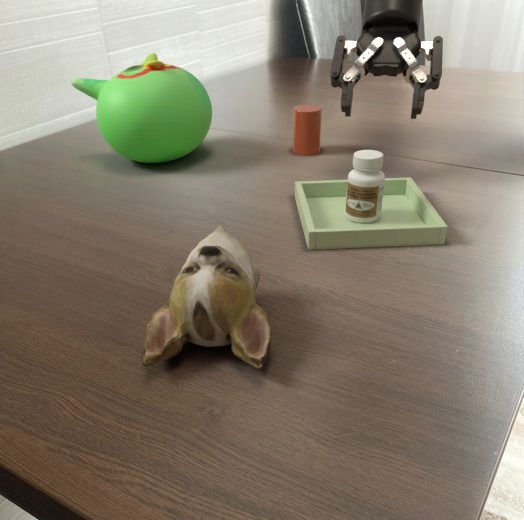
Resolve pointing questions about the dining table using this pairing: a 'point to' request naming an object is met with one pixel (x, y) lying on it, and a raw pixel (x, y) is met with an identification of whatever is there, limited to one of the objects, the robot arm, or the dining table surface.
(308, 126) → the terracotta cylinder
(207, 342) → the ceramic sculpture
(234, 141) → the dining table surface
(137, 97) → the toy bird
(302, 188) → the sage tray
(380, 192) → the pill bottle
